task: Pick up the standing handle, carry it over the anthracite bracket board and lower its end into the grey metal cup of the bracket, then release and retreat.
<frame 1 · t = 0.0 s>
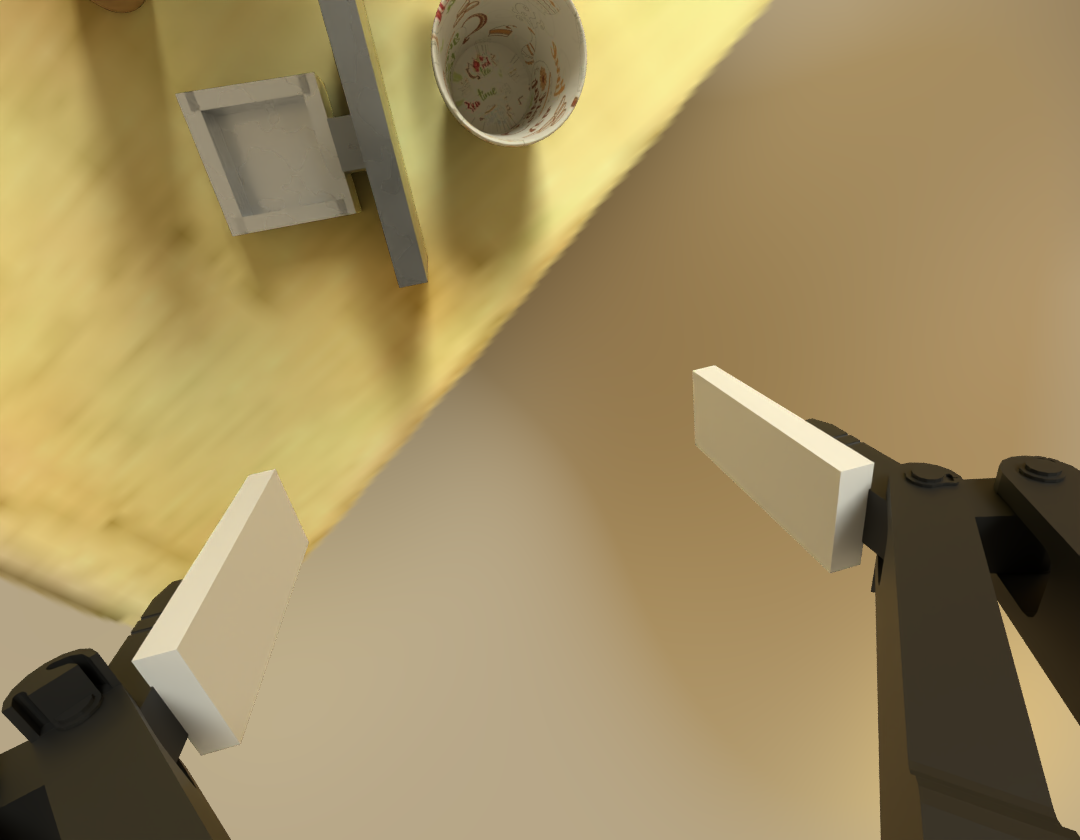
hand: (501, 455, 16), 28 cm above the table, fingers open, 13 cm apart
mug: (472, 60, 35), on the table
bracket: (314, 155, 36), on the table
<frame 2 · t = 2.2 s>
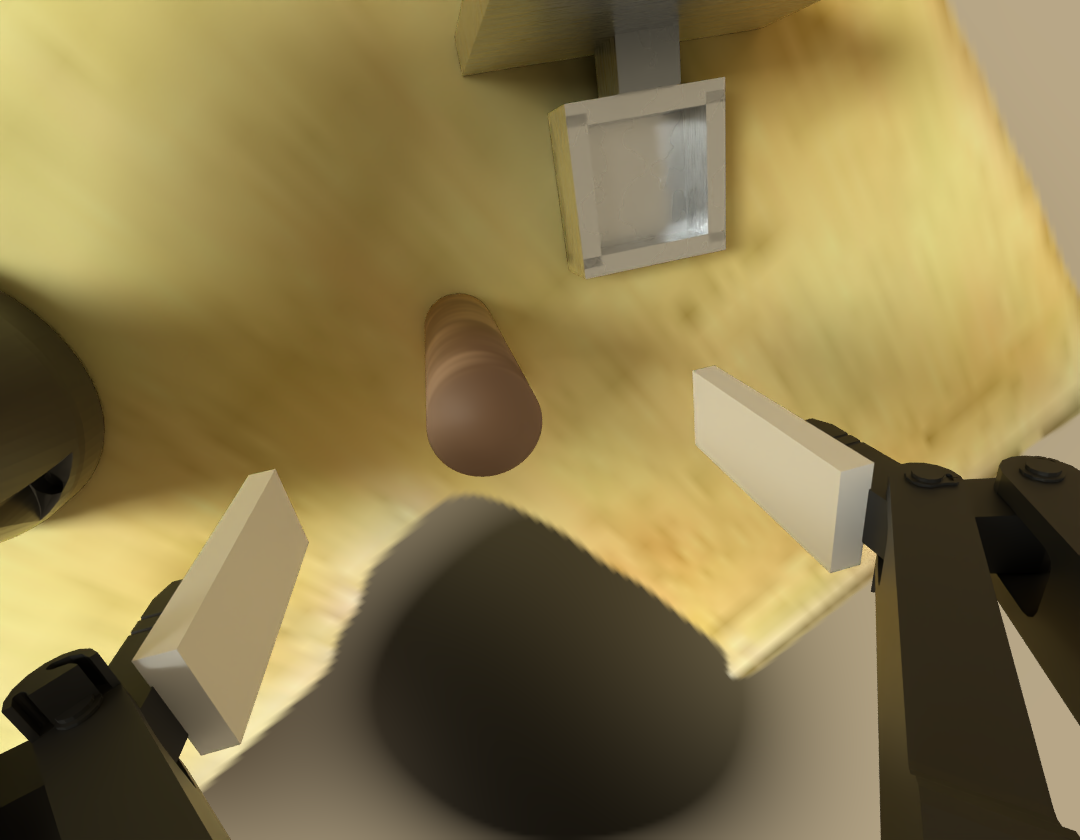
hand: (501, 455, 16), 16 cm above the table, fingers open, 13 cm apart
handle: (459, 327, 30), on the table
bracket: (623, 143, 28), on the table
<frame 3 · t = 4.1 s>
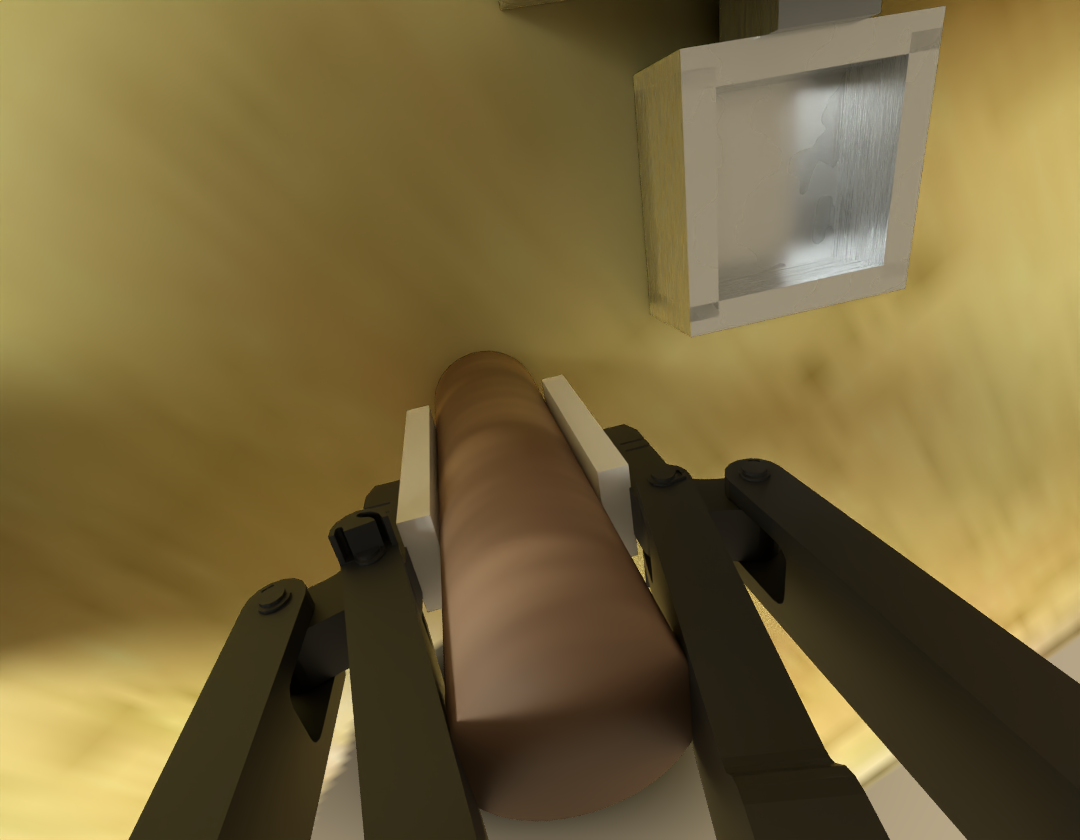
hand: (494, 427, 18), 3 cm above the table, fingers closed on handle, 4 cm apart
handle: (486, 400, 20), on the table, touching gripper
bracket: (745, 124, 18), on the table
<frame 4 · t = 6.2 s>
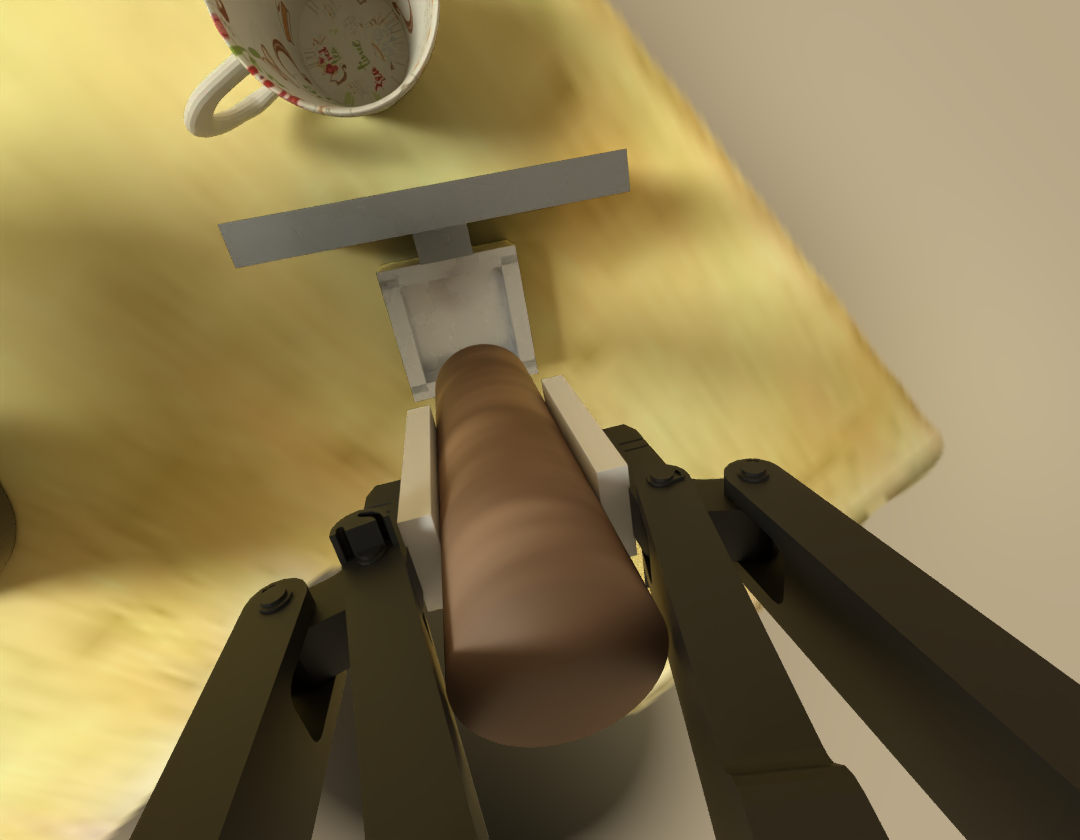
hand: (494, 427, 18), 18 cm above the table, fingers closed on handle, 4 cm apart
mug: (325, 75, 28), on the table
handle: (483, 390, 22), point 14 cm above the table, touching gripper
bracket: (452, 283, 33), on the table
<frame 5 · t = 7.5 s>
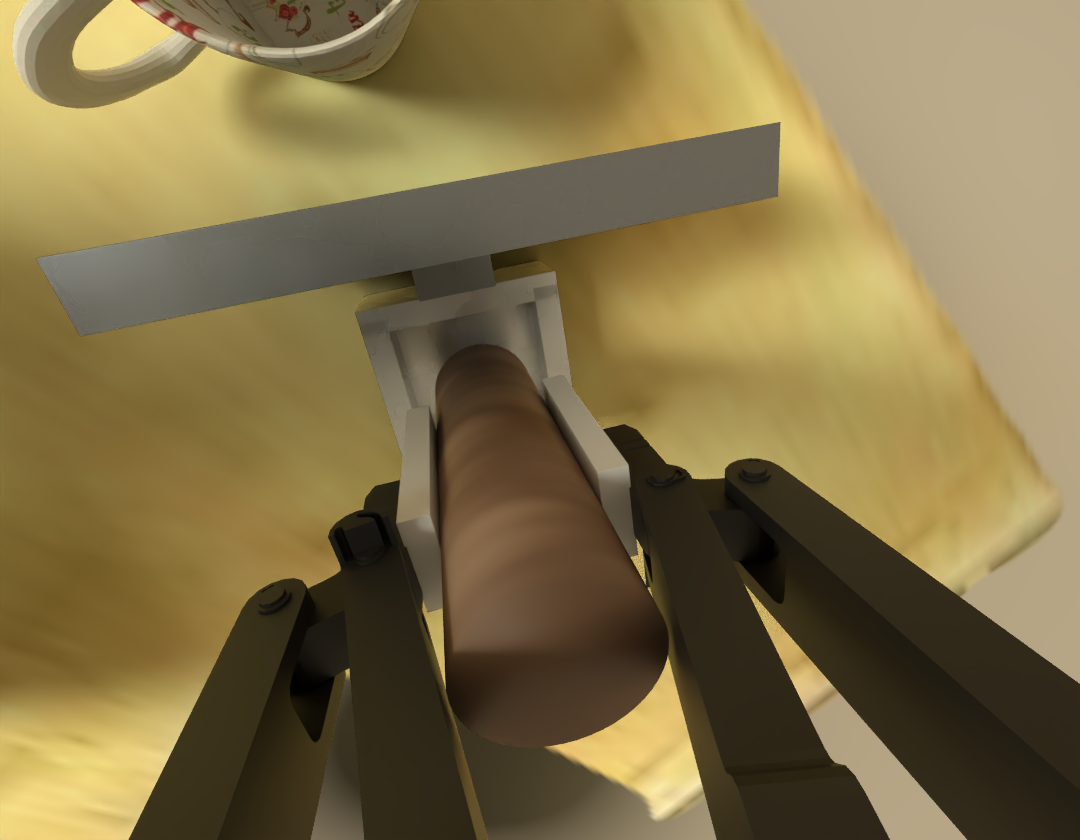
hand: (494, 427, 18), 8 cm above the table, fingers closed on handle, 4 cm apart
mug: (280, 23, 19), on the table
handle: (483, 390, 22), point 4 cm above the table, touching gripper
bracket: (463, 320, 24), on the table
when the fingers open (5 cm above the table, at t = 8.2 s): handle stays where it is, resting on bracket.
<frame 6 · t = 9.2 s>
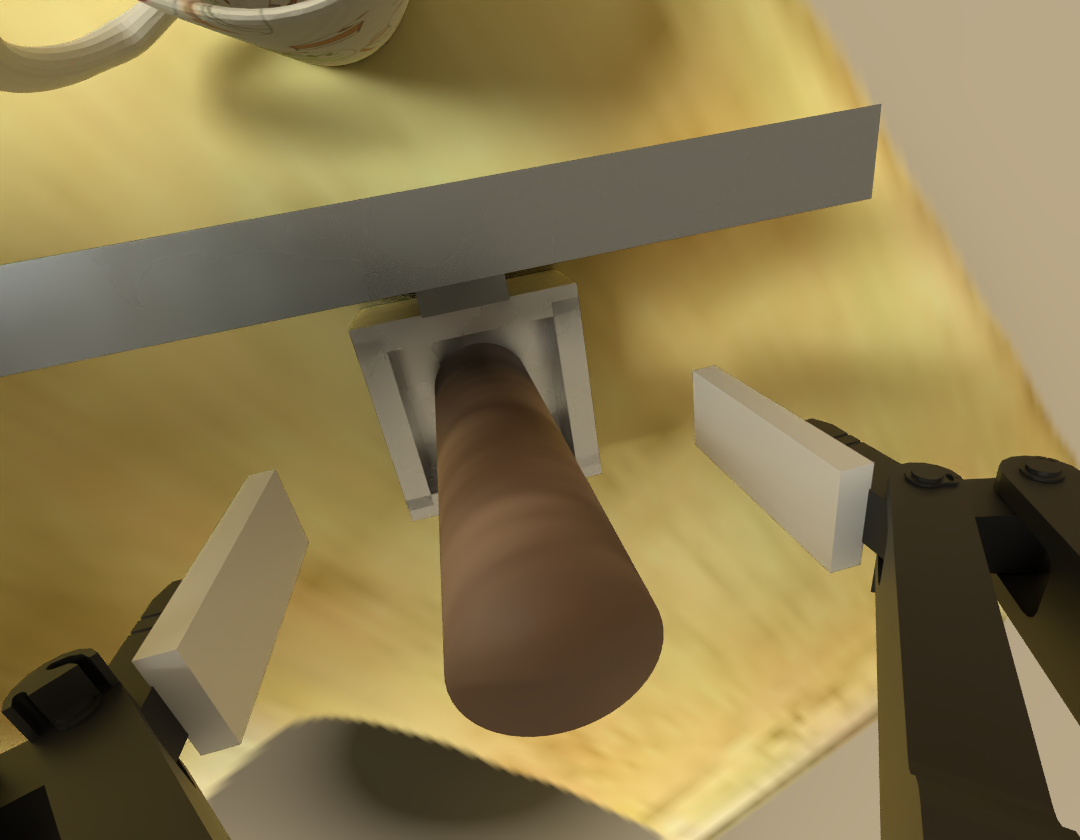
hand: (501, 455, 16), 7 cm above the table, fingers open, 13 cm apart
handle: (482, 388, 22), point 1 cm above the table, touching bracket
bracket: (470, 335, 22), on the table
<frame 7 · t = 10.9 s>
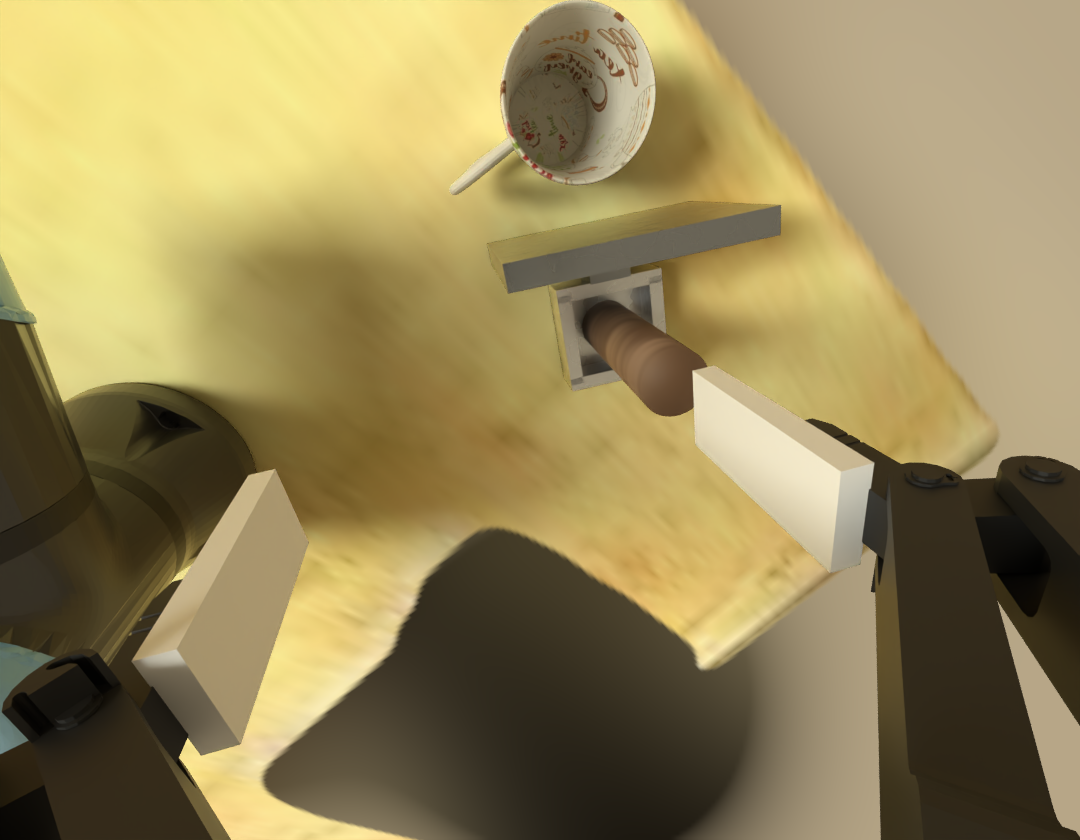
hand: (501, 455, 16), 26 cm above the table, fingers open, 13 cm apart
mug: (522, 140, 36), on the table
handle: (606, 325, 42), point 1 cm above the table, touching bracket
bracket: (599, 297, 42), on the table
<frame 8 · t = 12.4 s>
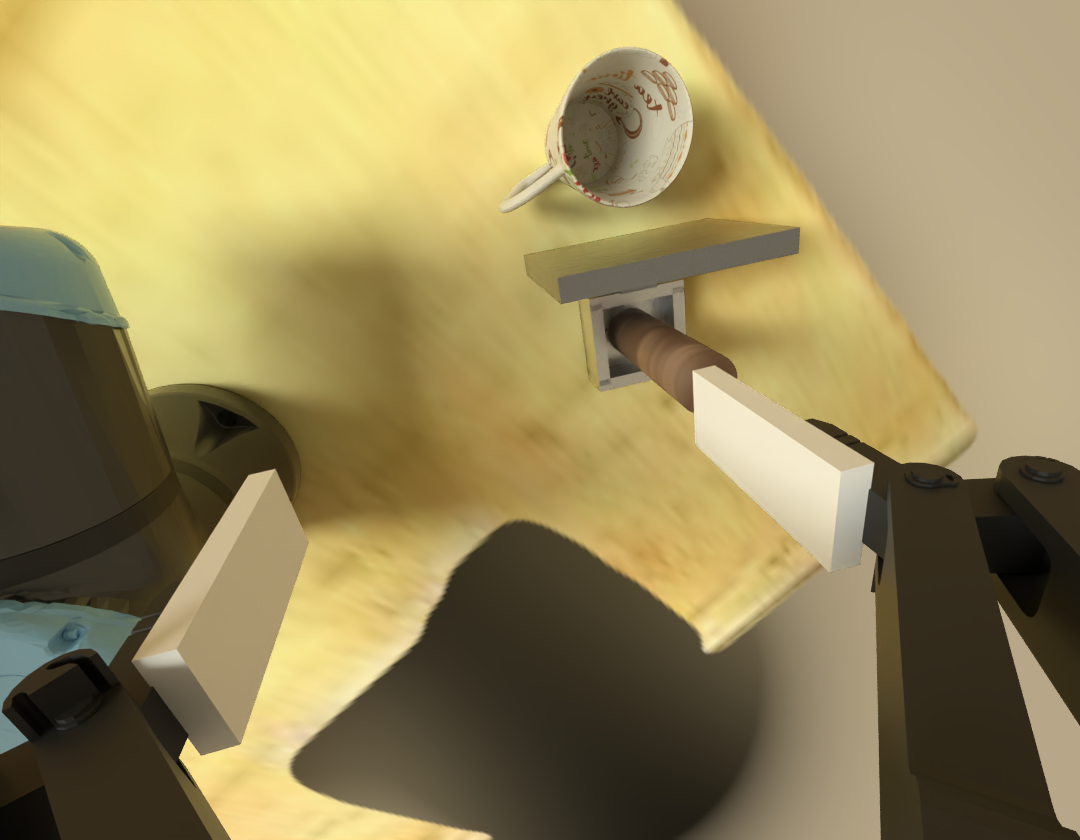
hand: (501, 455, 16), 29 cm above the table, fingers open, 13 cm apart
mug: (559, 162, 40), on the table
handle: (630, 330, 45), point 1 cm above the table, touching bracket
bracket: (624, 305, 45), on the table
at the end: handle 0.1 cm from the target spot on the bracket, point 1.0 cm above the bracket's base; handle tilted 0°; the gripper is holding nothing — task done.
